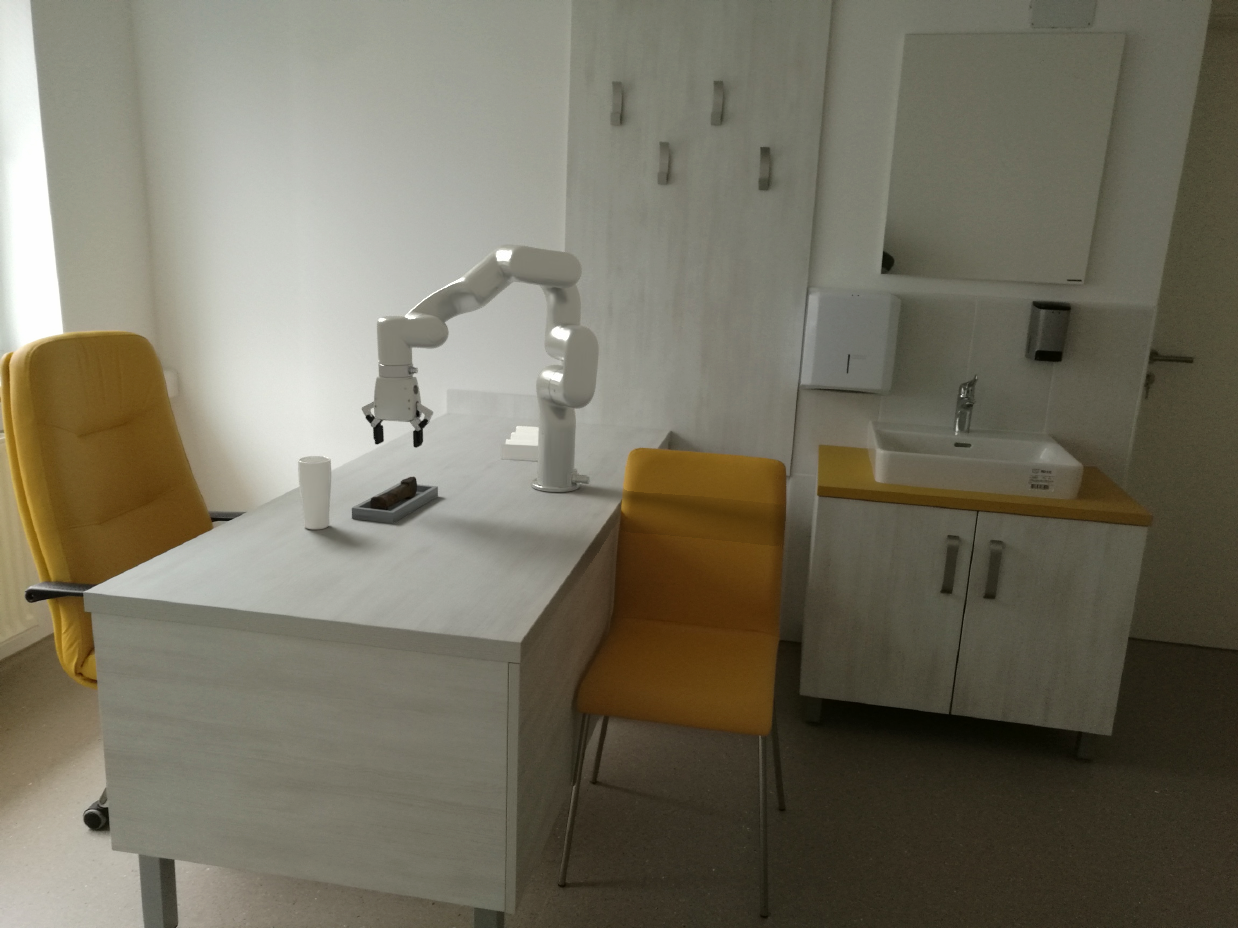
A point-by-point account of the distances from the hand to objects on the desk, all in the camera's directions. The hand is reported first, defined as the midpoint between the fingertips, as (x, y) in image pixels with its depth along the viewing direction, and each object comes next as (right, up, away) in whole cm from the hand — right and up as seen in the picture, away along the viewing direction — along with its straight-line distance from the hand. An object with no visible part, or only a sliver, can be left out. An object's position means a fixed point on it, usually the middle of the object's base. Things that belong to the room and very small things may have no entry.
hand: (398, 444), depth 217 cm
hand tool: (-1, -14, +3) cm, 14 cm away
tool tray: (-1, -15, +3) cm, 15 cm away
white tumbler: (-14, -18, -14) cm, 27 cm away
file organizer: (+24, 0, +71) cm, 75 cm away
